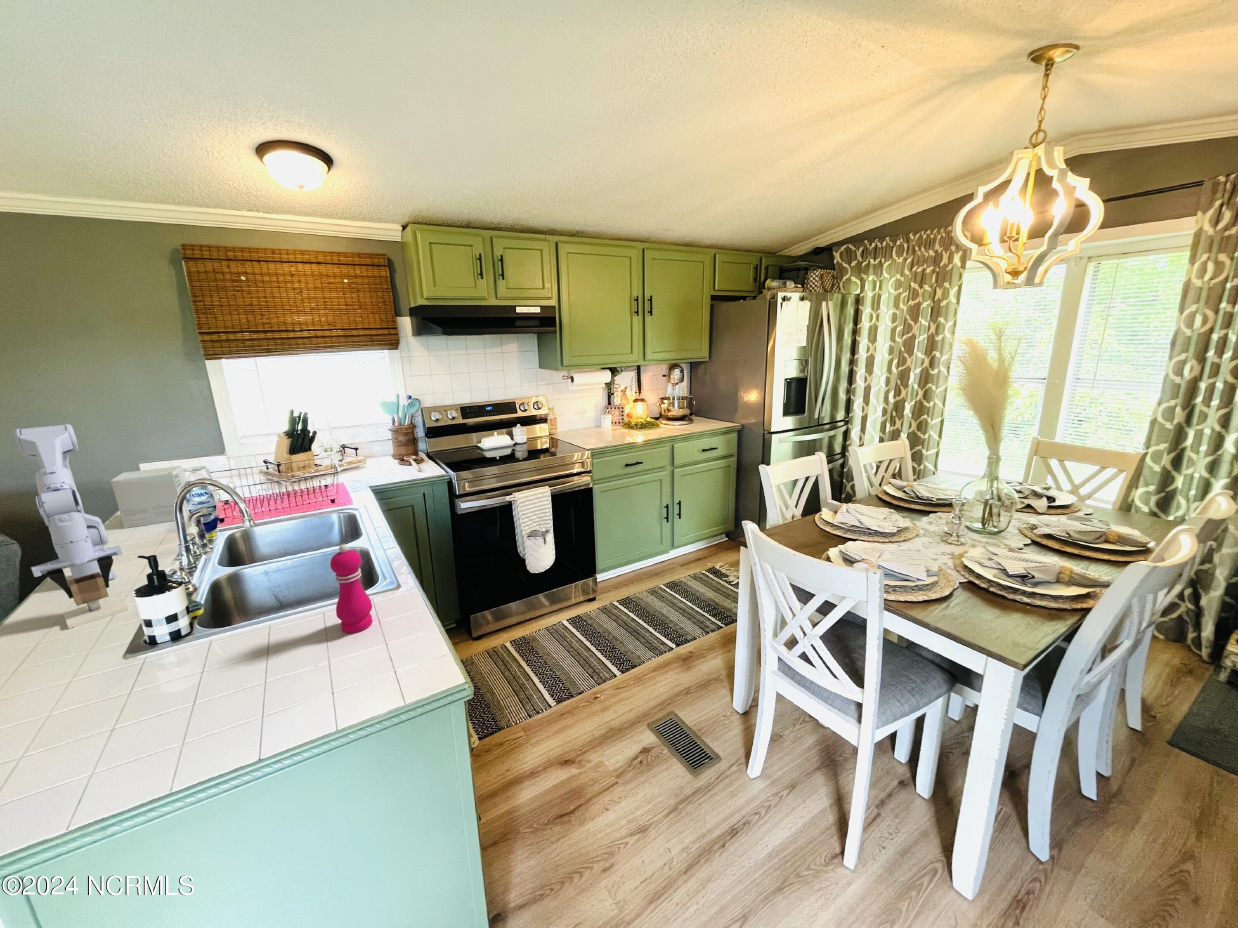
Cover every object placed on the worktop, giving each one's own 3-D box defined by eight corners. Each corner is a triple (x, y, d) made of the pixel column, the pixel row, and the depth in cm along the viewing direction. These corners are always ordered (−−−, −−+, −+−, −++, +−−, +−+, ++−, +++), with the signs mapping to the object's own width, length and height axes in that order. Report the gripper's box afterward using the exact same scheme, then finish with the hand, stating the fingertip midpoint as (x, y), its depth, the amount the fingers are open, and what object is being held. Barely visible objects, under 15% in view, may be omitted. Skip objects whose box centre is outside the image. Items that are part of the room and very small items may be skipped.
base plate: (64, 616, 120) (57, 597, 119) (120, 598, 128) (115, 581, 126) (68, 629, 115) (62, 609, 113) (127, 609, 122) (122, 591, 121)
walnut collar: (73, 599, 120) (67, 580, 118) (104, 589, 124) (99, 571, 122) (76, 606, 116) (70, 586, 115) (108, 596, 120) (102, 577, 119)
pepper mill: (360, 636, 109) (345, 553, 104) (331, 633, 111) (315, 550, 105) (381, 618, 116) (368, 539, 111) (354, 615, 117) (340, 537, 112)
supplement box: (194, 509, 195) (182, 464, 190) (185, 519, 184) (173, 472, 179) (135, 517, 187) (122, 471, 182) (123, 529, 176) (108, 480, 171)
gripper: (26, 554, 108) (46, 610, 112) (117, 533, 119) (133, 584, 123) (23, 547, 112) (43, 600, 116) (112, 527, 123) (127, 576, 127)
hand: (89, 591), depth 120 cm, fingers closed on walnut collar, 5 cm apart
